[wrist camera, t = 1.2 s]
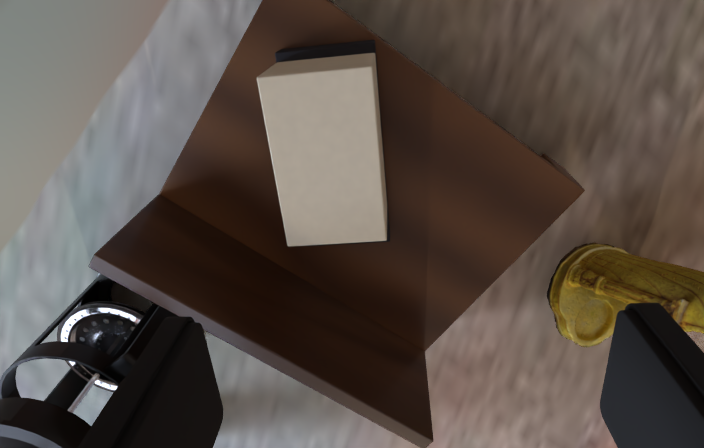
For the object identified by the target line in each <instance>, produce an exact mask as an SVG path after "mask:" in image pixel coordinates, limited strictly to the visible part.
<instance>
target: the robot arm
mask: <svg viewBox="0 0 704 448" xmlns="http://www.w3.org/2000/svg"><path fill="white" fill-rule="evenodd" d="M600 409H601V414H602V417H603V419H604V421H605V423H606V425H607V427H608V429H609V431H610V433H611V435H612V437H613V439H614V441H615V443H616V445H617V447H618V448H704V353H703V352H702V351H701V349H700V348H699V347H698V346H697V345H696V344H695V343H694V341H693V340H692V339H691V338H690V337H689V336H688V335H687V333H686V332H685V331H684V330H683V329H682V328H681V327H680V325H679V324H678V323H677V322H676V321H675V320H674V319H673V318H672V316H671V315H670V314H669V313H668V312H667V311H666V310H665V308H664V307H663V306H662V305H661V304H659V303H630V304H627V306H626V307H625V310H620V311H619V312H618V313H617V317H616V322H615V327H614V332H613V337H612V343H611V348H610V353H609V358H608V363H607V369H606V374H605V379H604V384H603V389H602V395H601V400H600ZM222 419H223V406H222V402H221V398H220V394H219V390H218V386H217V382H216V378H215V374H214V370H213V366H212V363H211V359H210V355H209V351H208V347H207V343H206V339H205V335H204V331H203V328H202V325H201V324H200V323H199V322H195V321H194V319H193V318H192V317H190V316H186V317H167V318H165V319H164V320H163V321H162V323H161V324H160V326H159V327H158V329H157V330H156V332H155V334H154V335H153V337H152V338H151V340H150V341H149V343H148V344H147V346H146V347H145V349H144V350H143V352H142V353H141V355H140V356H139V358H138V360H137V361H136V363H135V364H134V366H133V367H132V369H131V370H130V372H129V373H128V375H127V376H126V377H125V378H124V379H123V380H122V381H121V383H120V384H119V385H118V387H117V388H116V390H115V391H114V393H113V394H112V396H111V397H110V399H109V401H108V402H107V404H106V405H105V407H104V408H103V410H102V411H101V413H100V414H99V416H98V417H97V419H96V420H95V422H94V423H93V425H92V426H91V428H90V429H89V431H88V432H87V434H86V435H85V437H84V438H83V440H82V441H81V443H80V445H79V446H78V448H213V446H214V443H215V440H216V437H217V435H218V432H219V429H220V426H221V423H222Z"/></svg>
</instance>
